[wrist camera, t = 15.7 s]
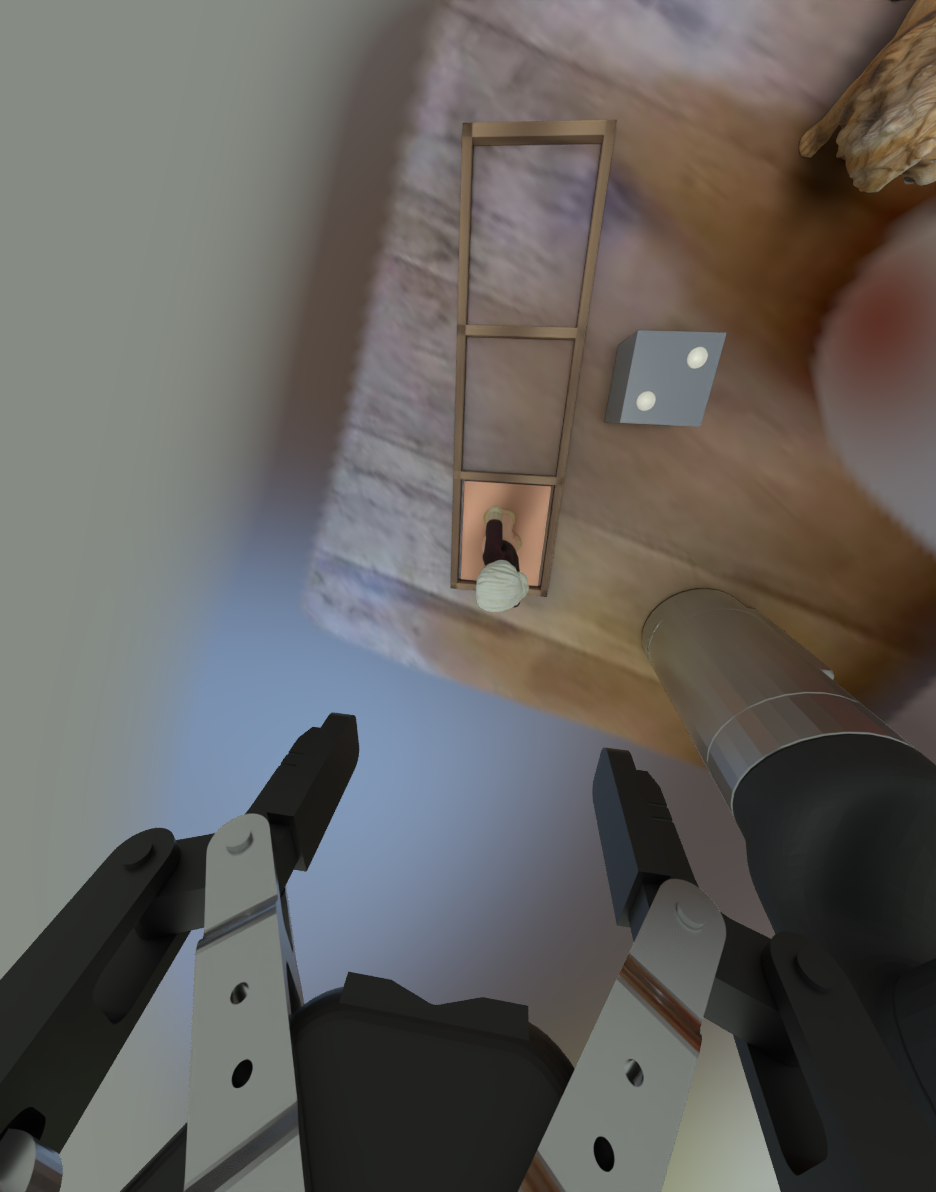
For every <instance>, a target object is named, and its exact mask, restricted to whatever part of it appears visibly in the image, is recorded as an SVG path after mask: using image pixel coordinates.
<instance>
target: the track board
mask: <svg viewBox="0 0 936 1192" xmlns="http://www.w3.org/2000/svg"><path fill="white" fill-rule="evenodd" d="M616 123H617V120H580V121H533V122H487V123H463V132H462V170H461V208H460V246H459V284H458V322H457V360H456V398H455V436H454V474H453V512H452V550H451V588H454V589H465V590H476V583H477V577H478V574H479V572H480V571H481V569H482V568H483V567H484V566H485V564H484V561H483V558H482V556H483V550H482V541H483V538H484V537H485V536H486V526H485V525H484V514H485V512H486V511H487V510H488V509H490V508H491V507H492V506H499V507H501V509H505V510H510V511H512V512H513V513H514V515H515V524H514V525H513V529H512V532H513V534H517V535H519V536H520V538H521V541H522V546H521V548H520V549H519V550H517V555H518V557H519V569H520V572H521V573H524V574H525V575H526V576H527V579H528V585H533V586H529V590H528V592H527V594H526V595H532V596H543V597H547V592H548V585H549V579H550V572H551V565H552V558H553V551H554V544H555V538H556V531H557V524H558V517H559V510H560V504H561V497H562V490H563V483H564V476H565V470H566V463H567V456H568V449H569V442H570V436H571V429H572V422H573V415H574V408H575V402H576V395H577V388H578V381H579V374H580V368H581V361H582V354H583V347H584V340H585V334H586V327H587V320H588V313H589V306H590V300H591V293H592V286H593V279H594V272H595V266H596V259H597V252H598V245H599V238H600V232H601V225H602V218H603V211H604V204H605V198H606V191H607V184H608V177H609V170H610V164H611V157H612V150H613V143H614V136H615V130H616ZM540 144H601V151H600V159H599V166H598V173H597V181H596V188H595V195H594V202H593V210H592V217H591V224H590V231H589V239H588V246H587V253H586V261H585V268H584V275H583V282H582V290H581V297H580V304H579V311H578V319H577V326H576V328H566V327H528V326H491V325H467V318H468V289H469V261H470V233H471V205H472V177H473V148H474V146H478V145H540ZM467 337H482V338H515V339H549V340H575V341H574V348H573V355H572V362H571V370H570V377H569V384H568V391H567V399H566V406H565V413H564V420H563V428H562V435H561V442H560V450H559V457H558V464H557V471H556V476H546V475H530V474H513V473H497V472H481V471H465V470H462V459H463V430H464V402H465V374H466V346H467ZM462 479H467V480H483V481H499V482H514V483H530V484H546V485H555V486H554V493H553V500H552V508H551V515H550V522H549V530H548V537H547V544H546V551H545V559H544V566H543V573H542V580H541V587H536V586H538V581H539V573H540V566H541V558H542V551H543V543H544V536H545V528H546V521H547V513H548V506H549V498H550V491H551V486H545V485H530V484H514V483H499V482H483V481H467V480H465V488H464V514H463V540H462V565H461V579H464V580H458V571H459V543H460V515H461V487H462ZM468 580H476V581H468Z"/></svg>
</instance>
